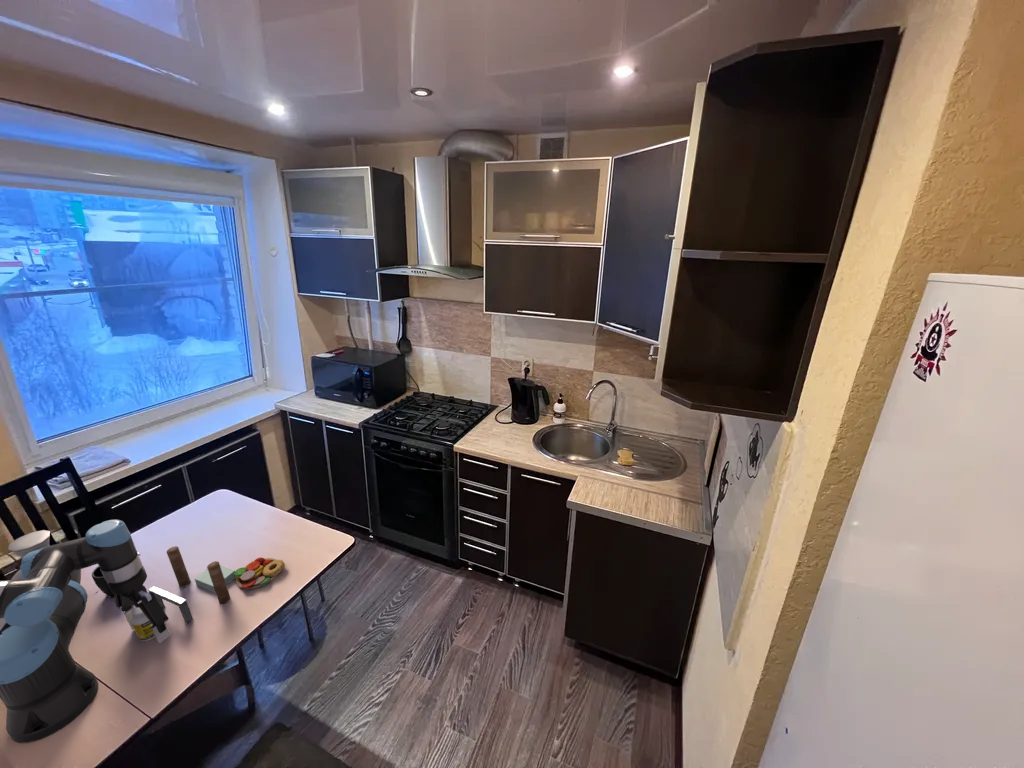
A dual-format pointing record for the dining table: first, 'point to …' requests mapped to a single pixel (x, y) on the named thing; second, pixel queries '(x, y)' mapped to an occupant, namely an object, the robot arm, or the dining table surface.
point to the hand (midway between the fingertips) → (150, 632)
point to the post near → (218, 582)
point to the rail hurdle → (175, 600)
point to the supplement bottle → (142, 625)
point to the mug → (101, 582)
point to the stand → (206, 581)
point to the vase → (31, 544)
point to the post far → (178, 566)
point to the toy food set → (258, 572)
